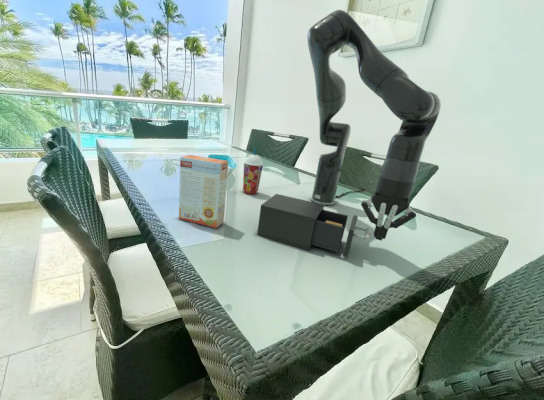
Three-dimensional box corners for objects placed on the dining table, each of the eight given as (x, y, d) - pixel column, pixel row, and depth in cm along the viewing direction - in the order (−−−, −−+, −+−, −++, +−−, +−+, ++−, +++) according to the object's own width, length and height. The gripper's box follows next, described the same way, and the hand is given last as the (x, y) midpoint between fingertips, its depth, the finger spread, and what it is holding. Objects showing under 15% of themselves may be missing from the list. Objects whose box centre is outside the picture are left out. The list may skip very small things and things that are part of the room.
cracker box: (224, 222, 90) (229, 160, 83) (216, 229, 85) (220, 163, 78) (187, 213, 95) (190, 153, 88) (178, 219, 90) (179, 156, 83)
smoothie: (263, 193, 124) (268, 149, 117) (251, 196, 118) (257, 150, 111) (248, 188, 129) (253, 146, 122) (237, 191, 123) (241, 147, 116)
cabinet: (318, 232, 88) (324, 204, 85) (309, 250, 76) (315, 218, 73) (272, 220, 95) (276, 193, 92) (257, 234, 83) (260, 204, 80)
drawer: (367, 243, 81) (373, 219, 78) (364, 263, 70) (372, 235, 68) (303, 227, 89) (308, 204, 87) (293, 241, 79) (298, 216, 76)
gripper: (367, 174, 67) (350, 237, 73) (431, 185, 62) (408, 252, 67) (368, 169, 74) (353, 227, 79) (426, 178, 68) (406, 240, 74)
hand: (378, 238), depth 73 cm, fingers closed
